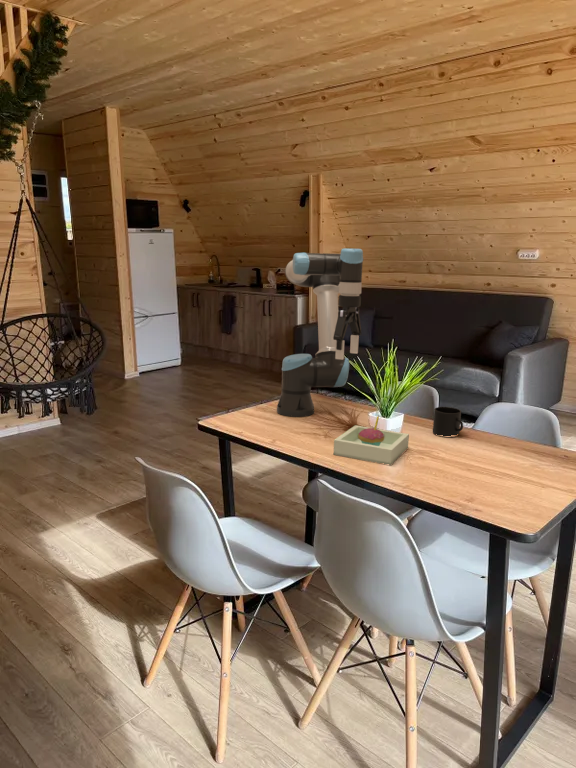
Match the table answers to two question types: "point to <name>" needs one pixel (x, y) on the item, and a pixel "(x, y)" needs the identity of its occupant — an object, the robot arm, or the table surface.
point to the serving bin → (371, 446)
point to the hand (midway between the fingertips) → (346, 356)
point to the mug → (447, 421)
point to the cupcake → (371, 435)
